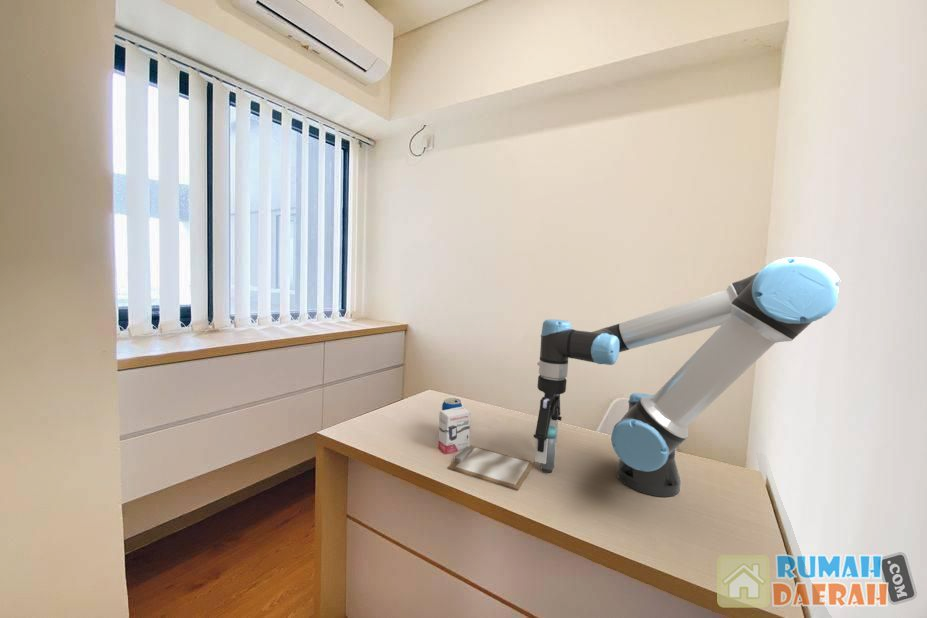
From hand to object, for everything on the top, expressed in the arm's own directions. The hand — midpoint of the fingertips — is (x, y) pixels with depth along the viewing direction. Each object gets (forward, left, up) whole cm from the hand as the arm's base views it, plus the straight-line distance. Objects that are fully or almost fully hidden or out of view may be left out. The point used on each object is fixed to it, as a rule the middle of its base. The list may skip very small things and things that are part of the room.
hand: (546, 451), depth 97 cm
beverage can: (+33, -5, -6) cm, 34 cm away
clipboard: (+14, +6, -5) cm, 16 cm away
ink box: (+28, +2, -6) cm, 28 cm away
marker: (0, 0, -5) cm, 5 cm away
